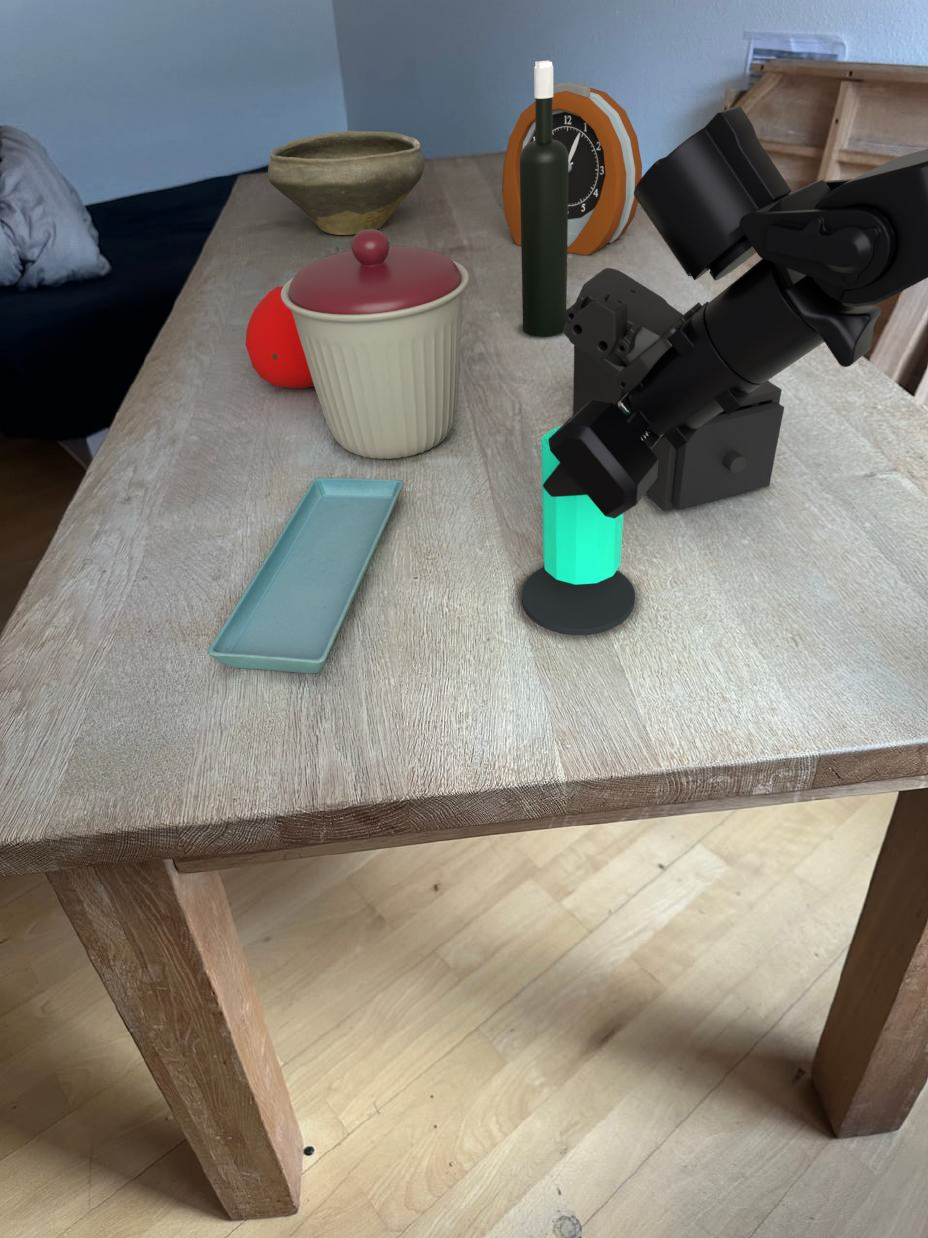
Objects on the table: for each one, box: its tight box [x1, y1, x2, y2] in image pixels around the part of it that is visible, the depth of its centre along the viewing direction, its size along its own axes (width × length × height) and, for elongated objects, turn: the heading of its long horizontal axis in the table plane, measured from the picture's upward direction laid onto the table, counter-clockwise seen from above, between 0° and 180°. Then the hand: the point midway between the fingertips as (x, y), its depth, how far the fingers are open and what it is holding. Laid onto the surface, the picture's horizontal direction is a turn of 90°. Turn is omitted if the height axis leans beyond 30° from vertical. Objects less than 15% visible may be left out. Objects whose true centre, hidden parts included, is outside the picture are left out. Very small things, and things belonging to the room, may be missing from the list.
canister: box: [281, 229, 470, 460], centre depth 85 cm, size 18×18×21 cm
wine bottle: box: [520, 59, 569, 338], centre depth 103 cm, size 6×6×30 cm
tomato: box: [245, 285, 315, 389], centre depth 101 cm, size 13×13×13 cm
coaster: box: [521, 566, 636, 636], centre depth 68 cm, size 9×9×1 cm
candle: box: [540, 425, 624, 585], centre depth 62 cm, size 6×6×12 cm
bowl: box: [267, 130, 425, 236], centre depth 153 cm, size 28×28×14 cm
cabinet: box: [572, 345, 783, 512], centre depth 82 cm, size 20×11×10 cm, turn 19°
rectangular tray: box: [207, 477, 405, 674], centre depth 72 cm, size 26×9×2 cm, turn 170°
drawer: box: [672, 402, 785, 510], centre depth 80 cm, size 20×9×8 cm, turn 19°
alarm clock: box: [501, 81, 643, 256], centre depth 135 cm, size 22×10×23 cm, turn 53°
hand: (565, 471), depth 61 cm, fingers closed on candle, 5 cm apart
